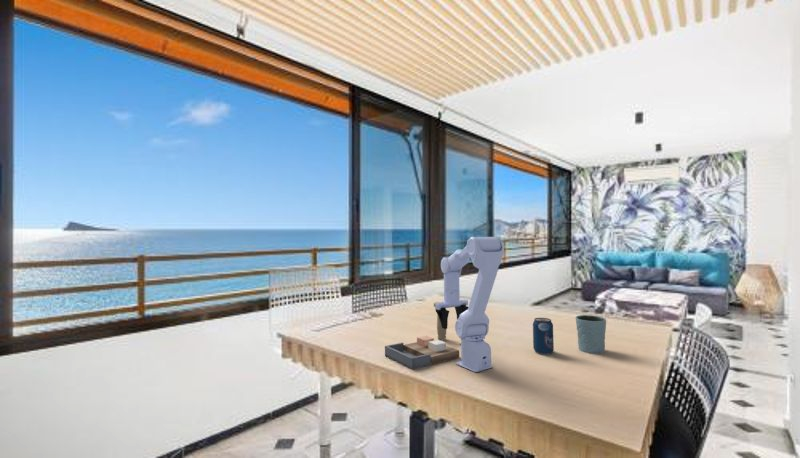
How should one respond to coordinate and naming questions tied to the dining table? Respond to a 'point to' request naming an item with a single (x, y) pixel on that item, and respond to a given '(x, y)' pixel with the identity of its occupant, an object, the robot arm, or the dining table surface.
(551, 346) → the soda can
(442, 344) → the tile cream
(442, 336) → the handle
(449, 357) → the wooden board
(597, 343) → the blue-grey cup
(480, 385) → the dining table surface
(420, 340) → the tile terracotta
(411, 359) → the box
